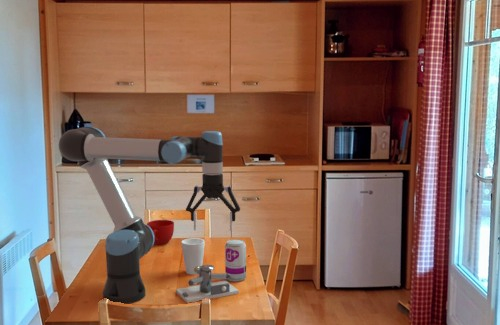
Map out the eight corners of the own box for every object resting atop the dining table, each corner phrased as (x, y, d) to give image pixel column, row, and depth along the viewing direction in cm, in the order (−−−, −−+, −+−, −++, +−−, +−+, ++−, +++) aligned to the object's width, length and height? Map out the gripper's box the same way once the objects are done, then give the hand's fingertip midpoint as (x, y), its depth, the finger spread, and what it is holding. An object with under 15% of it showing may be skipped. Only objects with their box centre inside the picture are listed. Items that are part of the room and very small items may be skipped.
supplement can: (239, 283, 219) (238, 245, 217) (221, 279, 223) (220, 242, 221) (250, 277, 226) (249, 240, 223) (232, 273, 230) (232, 237, 228)
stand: (188, 304, 199) (187, 292, 198) (175, 292, 210) (175, 281, 210) (239, 294, 208) (239, 283, 207) (225, 283, 219) (225, 272, 218)
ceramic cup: (140, 249, 265) (139, 228, 263) (152, 239, 281) (152, 219, 280) (167, 250, 263) (166, 229, 261) (177, 240, 279) (177, 220, 278)
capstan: (189, 299, 200) (189, 275, 198) (176, 285, 212) (175, 263, 211) (231, 291, 207) (231, 267, 206) (215, 278, 220) (215, 257, 218)
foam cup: (201, 276, 227) (200, 245, 225) (179, 275, 229) (178, 244, 227) (207, 268, 236) (207, 238, 234) (186, 267, 238) (185, 237, 236)
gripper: (246, 171, 212) (246, 227, 215) (180, 171, 213) (181, 226, 216) (245, 175, 204) (246, 232, 207) (177, 174, 205) (178, 231, 208)
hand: (213, 229), depth 212 cm, fingers open, 13 cm apart
